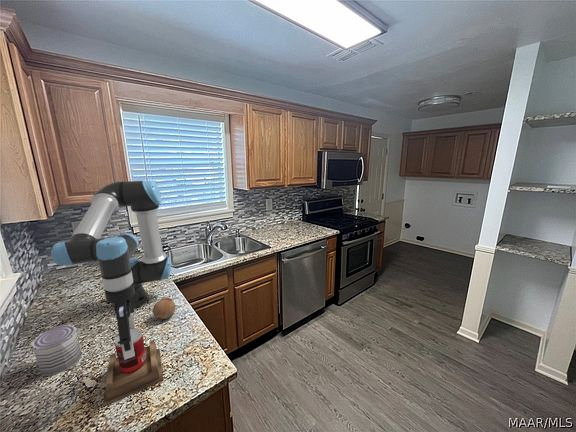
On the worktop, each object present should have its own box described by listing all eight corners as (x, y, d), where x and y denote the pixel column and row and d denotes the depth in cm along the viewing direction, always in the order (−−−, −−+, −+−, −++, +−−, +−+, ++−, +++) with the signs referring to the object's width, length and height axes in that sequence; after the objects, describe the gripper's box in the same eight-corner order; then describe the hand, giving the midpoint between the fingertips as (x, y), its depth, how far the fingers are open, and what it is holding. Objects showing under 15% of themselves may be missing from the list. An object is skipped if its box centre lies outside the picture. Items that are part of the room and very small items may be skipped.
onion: (170, 317, 115) (173, 296, 118) (175, 321, 108) (179, 298, 111) (148, 318, 109) (153, 296, 112) (153, 322, 102) (158, 298, 105)
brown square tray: (108, 368, 82) (105, 354, 81) (159, 349, 91) (157, 336, 89) (103, 406, 69) (99, 390, 68) (163, 380, 77) (161, 365, 76)
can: (87, 347, 92) (81, 321, 90) (74, 370, 82) (67, 340, 80) (50, 356, 88) (42, 329, 86) (31, 381, 78) (22, 350, 76)
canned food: (141, 351, 85) (137, 325, 82) (150, 363, 80) (145, 335, 77) (116, 365, 79) (111, 337, 76) (124, 378, 74) (118, 349, 72)
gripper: (108, 273, 81) (118, 326, 86) (98, 310, 61) (113, 376, 66) (133, 268, 85) (142, 318, 90) (132, 301, 65) (144, 364, 70)
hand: (130, 343), depth 78 cm, fingers open, 13 cm apart
